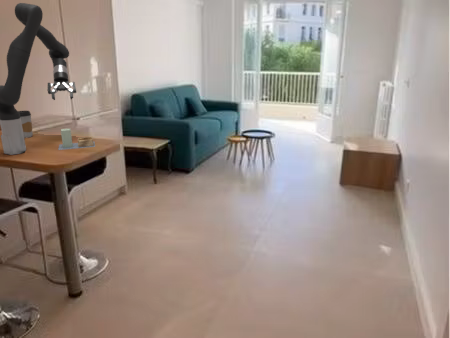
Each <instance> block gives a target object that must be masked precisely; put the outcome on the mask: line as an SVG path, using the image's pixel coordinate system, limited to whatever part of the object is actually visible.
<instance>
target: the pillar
mask: <svg viewBox="0 0 450 338" xmlns="http://www.w3.org/2000/svg"><path fill="white" fill-rule="evenodd" d="M71 129H72V128H61V129H60V135H61V141H62V144H63V148H66V147H73V143H74V142H73V138H72V137H73V135H72V130H71Z"/></svg>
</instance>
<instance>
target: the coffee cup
mask: <svg viewBox="0 0 450 338" xmlns="http://www.w3.org/2000/svg"><path fill="white" fill-rule="evenodd" d="M17 111H18V112H19V113H20V117H21V123H22V128H23V134H24V139H26V138H32V137H33V135H34V134H33V122H32V113H31V112H30V111H29V110H17Z"/></svg>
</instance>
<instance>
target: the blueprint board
mask: <svg viewBox="0 0 450 338" xmlns="http://www.w3.org/2000/svg"><path fill="white" fill-rule="evenodd" d="M72 143H73V147H66V148H63V143H62V144H61V143H60V144H58V151H61V150H75V149H76V150H77V149H84V148H85V149H86V148H95V147H96V143H95V140H93V143H94V146H86V147H78V142H72Z"/></svg>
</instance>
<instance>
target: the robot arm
mask: <svg viewBox="0 0 450 338" xmlns="http://www.w3.org/2000/svg"><path fill="white" fill-rule="evenodd" d="M14 15H15V17H16V19H17V20H18V21H19V22H20V23H21V24H22V25H23V26H24V28H23V30H22V32H20V33H19V35H17V36H16V37H15V38H14V39H13V40H12V41H11V42H10V44H9V47H8V50H7V54H6V67H7V76H6V77H7V78H6V81H5V83H4V85H2V84H1V85H0V130H1V134H0V139H1V144H2V149H3V154H6V155H11V156H12V155H18V154H19V155H20V154H25V153H26V151H27V147H26V141H25V138H24V134H23V128H22V123H21V117H20V113H19V112H18V111H19V110H17V109H16V107H15V105H17V104H18V102H19V101H20V98H21V93H22V89H23V82H24V77H25V74H26V70H27V66H28V63H29V59H30V56H31V52H32V48H33V45H34V42H35V39H36V37H37V38H38V39H39V40H40V42H42V44H43V45H44V47H46V48H47V49H48V50H49V51H48V55H49V57H50V59H51V61H52V66H53V67H52V68H53V70H52V73H53V83H50V82H47V89H46V90H47V94H48V95H51V99H52V100H53V101H55V100H56V95H55V94H56V93H58V92H67V93H69V96H70V100H72V99H74V94H77V88H76V82H75V81H72V82H70V80H69V71H68V65H67V61H66V60H65V59H68V58H69V56H70V51H69V49H68V48H67V46H66V45H65V44H63V43H62V42H60V41H59V40H58V39H57V38H56V37H55V36H54V34H53V33H52V32H51V31H50V30H48V29H47V28H46V27H45V26H44V25H41V23H42V21H43V15H44V14H43V10H42V8H41V7H40V6H39V5H37V4H31V3H26V2H19V3H17V4H16V5H15V7H14ZM71 87H72V88H73V89H72V88H71Z"/></svg>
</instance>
